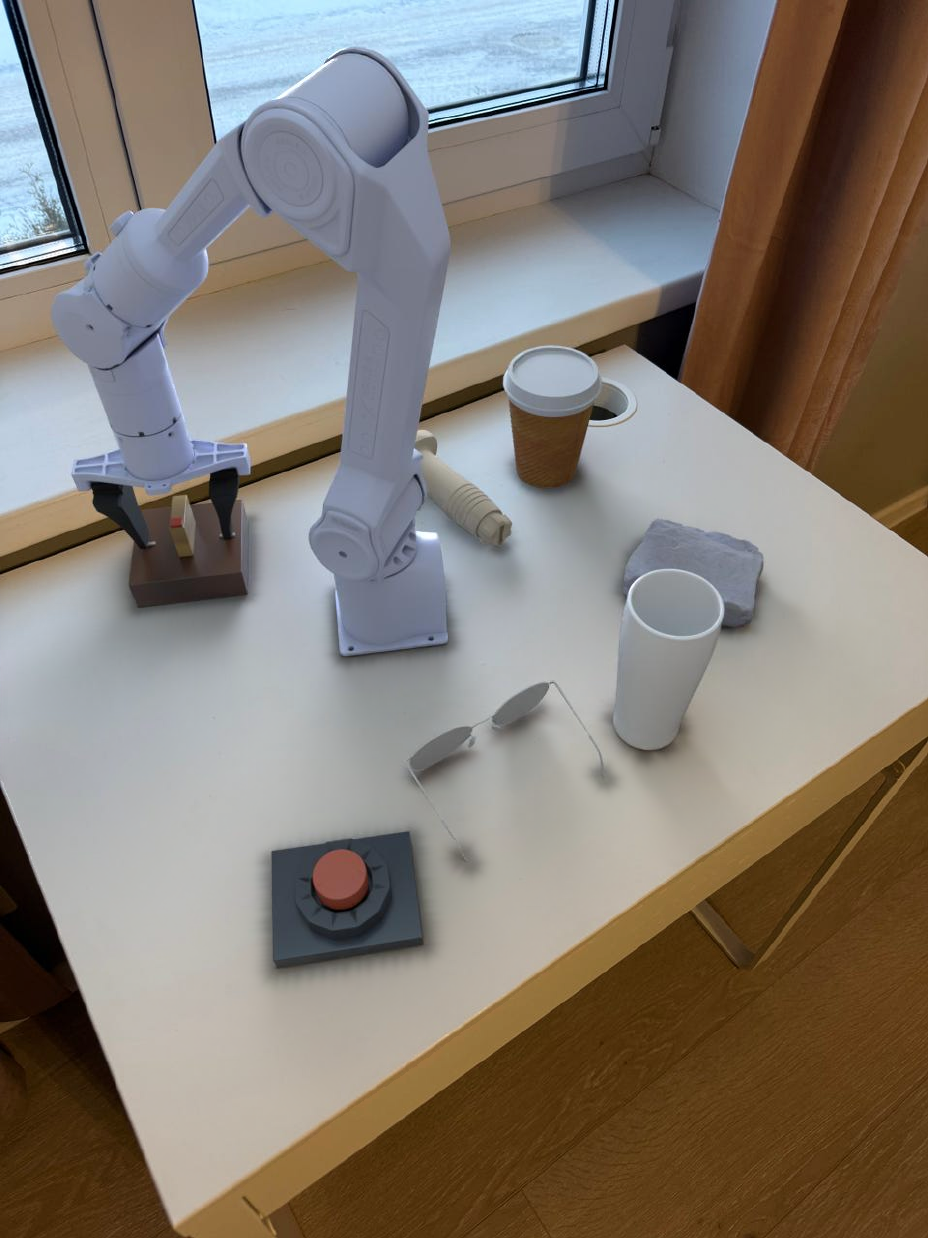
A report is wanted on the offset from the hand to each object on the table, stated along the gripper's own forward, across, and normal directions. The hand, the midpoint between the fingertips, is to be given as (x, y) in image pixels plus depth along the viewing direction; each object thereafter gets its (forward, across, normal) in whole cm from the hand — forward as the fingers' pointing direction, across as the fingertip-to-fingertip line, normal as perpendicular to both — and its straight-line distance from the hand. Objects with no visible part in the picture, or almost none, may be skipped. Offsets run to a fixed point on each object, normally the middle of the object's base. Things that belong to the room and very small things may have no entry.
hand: (186, 536), depth 83 cm
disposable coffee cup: (+4, +36, +8) cm, 37 cm away
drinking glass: (+4, +37, -25) cm, 45 cm away
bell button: (+1, +12, -36) cm, 38 cm away
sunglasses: (+4, +25, -28) cm, 38 cm away
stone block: (+4, +46, -10) cm, 47 cm away
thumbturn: (0, 0, 0) cm, 0 cm away
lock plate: (+3, 0, 0) cm, 3 cm away
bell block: (+3, +12, -36) cm, 38 cm away
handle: (+2, +29, -3) cm, 29 cm away
